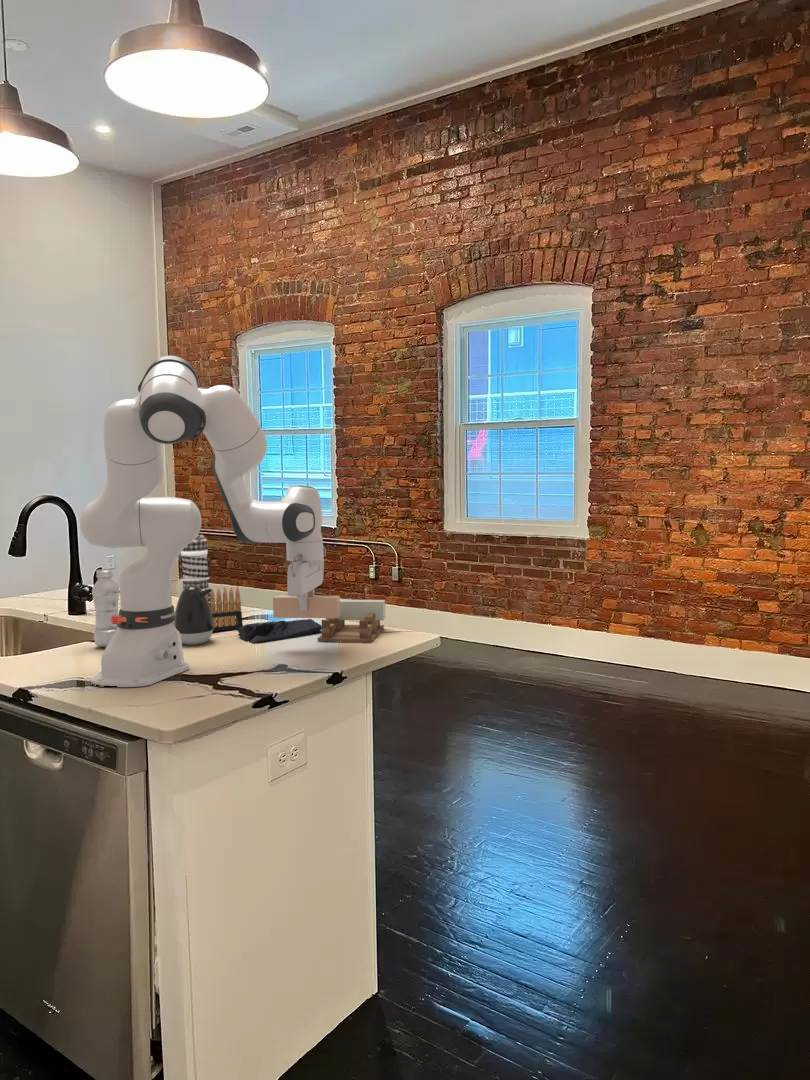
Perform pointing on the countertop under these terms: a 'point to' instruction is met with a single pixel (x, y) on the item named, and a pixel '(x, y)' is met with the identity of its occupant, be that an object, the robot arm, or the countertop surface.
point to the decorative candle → (195, 564)
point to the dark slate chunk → (277, 630)
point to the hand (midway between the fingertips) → (306, 608)
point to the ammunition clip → (226, 610)
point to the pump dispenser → (194, 616)
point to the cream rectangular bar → (361, 609)
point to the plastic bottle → (105, 606)
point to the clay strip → (316, 607)
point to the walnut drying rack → (351, 630)
